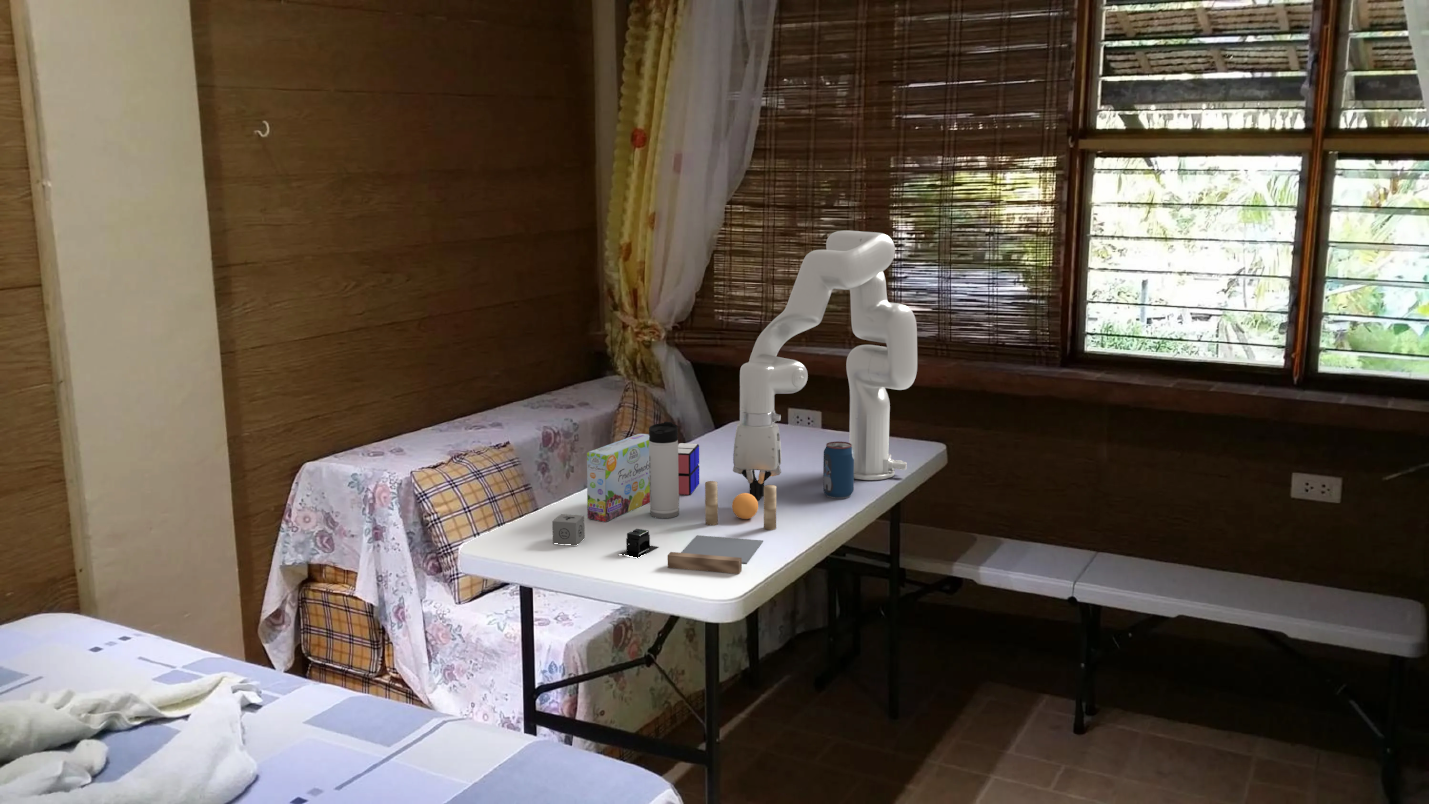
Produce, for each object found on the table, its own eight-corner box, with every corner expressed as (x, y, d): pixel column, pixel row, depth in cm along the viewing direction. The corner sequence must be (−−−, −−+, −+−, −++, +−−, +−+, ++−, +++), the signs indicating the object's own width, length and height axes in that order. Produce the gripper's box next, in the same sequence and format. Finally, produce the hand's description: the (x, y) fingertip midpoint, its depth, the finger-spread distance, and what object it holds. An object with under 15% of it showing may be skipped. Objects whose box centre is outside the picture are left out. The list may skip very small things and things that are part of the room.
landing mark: (763, 541, 251) (763, 540, 251) (746, 563, 238) (746, 562, 238) (696, 536, 255) (696, 535, 255) (676, 557, 242) (676, 556, 241)
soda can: (857, 493, 285) (858, 442, 283) (847, 500, 279) (848, 449, 277) (829, 489, 288) (829, 439, 286) (818, 497, 282) (819, 446, 280)
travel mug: (683, 511, 272) (682, 422, 268) (672, 519, 266) (671, 429, 262) (657, 508, 274) (655, 420, 270) (645, 517, 268) (644, 427, 264)
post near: (777, 526, 261) (777, 485, 259) (774, 530, 258) (774, 488, 256) (765, 525, 261) (765, 484, 259) (762, 529, 259) (762, 487, 257)
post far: (719, 522, 264) (718, 481, 262) (715, 525, 262) (715, 484, 260) (707, 521, 265) (707, 480, 263) (704, 524, 262) (703, 483, 260)
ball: (752, 517, 262) (759, 522, 267) (756, 491, 263) (762, 497, 268) (727, 515, 263) (734, 519, 269) (731, 489, 265) (737, 494, 270)
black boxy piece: (640, 542, 253) (639, 521, 252) (670, 547, 249) (670, 526, 249) (606, 560, 242) (605, 538, 241) (637, 566, 239) (637, 543, 238)
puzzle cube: (690, 496, 284) (690, 453, 282) (648, 494, 286) (647, 451, 284) (699, 484, 294) (699, 443, 292) (658, 482, 296) (658, 441, 294)
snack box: (608, 523, 264) (606, 454, 261) (586, 519, 267) (584, 451, 264) (660, 498, 282) (659, 434, 279) (639, 495, 285) (638, 431, 282)
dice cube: (584, 539, 254) (584, 515, 253) (576, 546, 249) (575, 522, 248) (561, 537, 255) (561, 514, 254) (553, 544, 250) (552, 521, 249)
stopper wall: (741, 570, 234) (741, 557, 234) (739, 573, 232) (739, 561, 232) (670, 564, 238) (670, 551, 237) (667, 567, 236) (667, 555, 235)
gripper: (794, 416, 273) (793, 497, 277) (728, 413, 277) (728, 492, 281) (786, 424, 266) (786, 506, 270) (719, 420, 270) (719, 501, 274)
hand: (756, 499), depth 275 cm, fingers closed
